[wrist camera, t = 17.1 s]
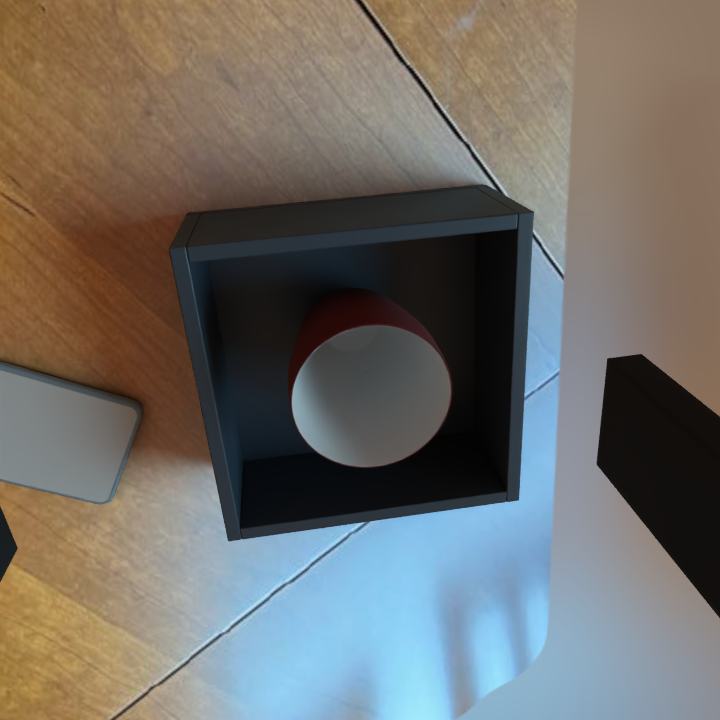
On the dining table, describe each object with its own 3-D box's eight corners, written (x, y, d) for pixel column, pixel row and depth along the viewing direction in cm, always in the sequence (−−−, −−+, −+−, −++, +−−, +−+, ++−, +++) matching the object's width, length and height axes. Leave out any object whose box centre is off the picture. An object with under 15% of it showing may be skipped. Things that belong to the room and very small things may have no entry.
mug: (437, 386, 43) (482, 473, 34) (324, 427, 43) (339, 524, 34) (389, 241, 38) (427, 297, 29) (263, 288, 38) (262, 358, 29)
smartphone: (109, 508, 43) (-144, 449, 38) (112, 499, 44) (-135, 440, 39) (145, 407, 40) (-123, 330, 36) (147, 399, 41) (-114, 323, 36)
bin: (486, 184, 38) (534, 211, 31) (481, 434, 45) (519, 500, 39) (186, 212, 36) (168, 248, 29) (234, 467, 44) (228, 541, 37)
